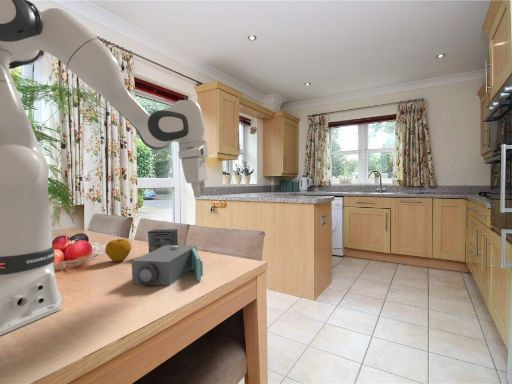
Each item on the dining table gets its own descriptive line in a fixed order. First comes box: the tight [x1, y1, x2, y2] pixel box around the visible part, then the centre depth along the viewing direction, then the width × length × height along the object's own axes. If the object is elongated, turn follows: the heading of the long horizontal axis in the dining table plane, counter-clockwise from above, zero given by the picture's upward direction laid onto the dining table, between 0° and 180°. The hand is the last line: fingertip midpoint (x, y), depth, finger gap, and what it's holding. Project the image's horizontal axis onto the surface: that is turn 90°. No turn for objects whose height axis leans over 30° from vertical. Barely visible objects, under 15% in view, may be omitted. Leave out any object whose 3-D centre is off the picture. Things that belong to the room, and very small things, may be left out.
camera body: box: [131, 244, 198, 287], centre depth 87 cm, size 22×12×8 cm, turn 169°
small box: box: [147, 228, 179, 253], centre depth 113 cm, size 11×6×10 cm, turn 84°
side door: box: [192, 248, 204, 282], centre depth 87 cm, size 14×2×7 cm, turn 19°
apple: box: [104, 238, 132, 263], centre depth 104 cm, size 9×9×9 cm
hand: (200, 195), depth 87 cm, fingers open, 8 cm apart
